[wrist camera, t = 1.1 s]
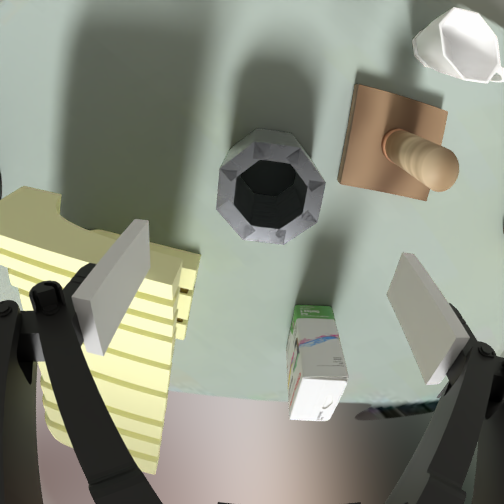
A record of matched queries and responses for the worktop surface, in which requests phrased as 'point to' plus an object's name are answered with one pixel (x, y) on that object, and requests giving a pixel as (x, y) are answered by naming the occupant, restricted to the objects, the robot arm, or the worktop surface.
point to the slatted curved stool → (130, 329)
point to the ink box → (314, 364)
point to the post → (396, 146)
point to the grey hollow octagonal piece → (265, 206)
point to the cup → (460, 47)
